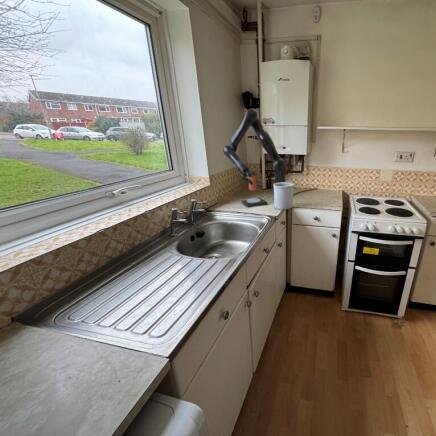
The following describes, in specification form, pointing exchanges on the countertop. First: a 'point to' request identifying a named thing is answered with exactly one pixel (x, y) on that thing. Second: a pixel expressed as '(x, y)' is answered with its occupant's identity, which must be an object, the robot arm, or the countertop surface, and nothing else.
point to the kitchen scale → (254, 202)
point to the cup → (254, 181)
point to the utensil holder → (283, 195)
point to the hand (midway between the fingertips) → (254, 183)
